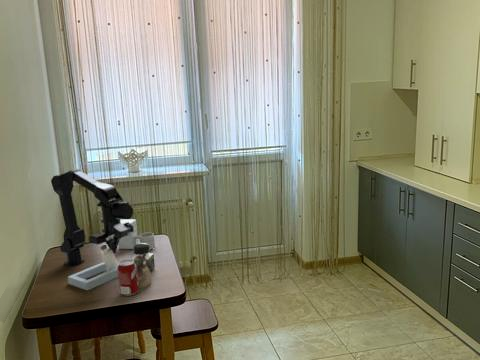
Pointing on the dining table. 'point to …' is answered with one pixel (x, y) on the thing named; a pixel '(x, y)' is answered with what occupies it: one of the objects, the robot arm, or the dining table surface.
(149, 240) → the mug
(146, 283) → the figurine
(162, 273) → the dining table surface
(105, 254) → the white bottle
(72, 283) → the u rest
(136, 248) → the medicine bottle
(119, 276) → the soda can
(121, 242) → the supplement box
